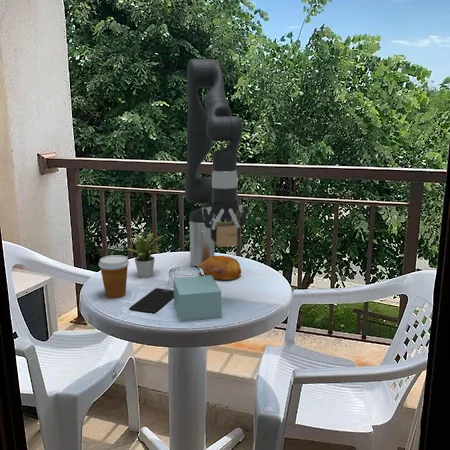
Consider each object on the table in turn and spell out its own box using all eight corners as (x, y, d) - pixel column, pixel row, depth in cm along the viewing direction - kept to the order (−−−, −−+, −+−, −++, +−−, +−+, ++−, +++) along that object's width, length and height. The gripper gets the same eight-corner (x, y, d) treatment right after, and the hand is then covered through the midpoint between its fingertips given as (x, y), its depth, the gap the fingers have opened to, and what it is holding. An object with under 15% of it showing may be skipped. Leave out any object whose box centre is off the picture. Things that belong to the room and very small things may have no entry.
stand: (173, 302, 158) (173, 278, 156) (211, 299, 160) (211, 275, 158) (180, 321, 145) (179, 295, 143) (221, 317, 147) (221, 291, 145)
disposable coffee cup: (101, 301, 159) (98, 265, 156) (100, 290, 168) (97, 256, 165) (132, 298, 161) (130, 262, 158) (129, 287, 170) (127, 253, 167)
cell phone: (180, 293, 166) (180, 291, 166) (154, 315, 150) (154, 312, 149) (156, 290, 169) (156, 287, 169) (128, 311, 153) (128, 308, 152)
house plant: (162, 283, 174) (161, 237, 170) (122, 283, 174) (120, 237, 170) (168, 269, 188) (167, 227, 184) (131, 269, 188) (128, 226, 184)
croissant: (228, 290, 174) (231, 269, 171) (191, 276, 181) (193, 255, 179) (249, 276, 186) (251, 256, 183) (213, 264, 193) (216, 244, 191)
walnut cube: (213, 241, 157) (213, 222, 155) (232, 240, 158) (232, 221, 157) (217, 247, 151) (217, 227, 149) (237, 245, 152) (237, 226, 151)
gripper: (244, 182, 155) (244, 235, 159) (198, 184, 152) (199, 238, 156) (251, 186, 148) (251, 241, 152) (203, 188, 145) (204, 245, 149)
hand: (224, 239), depth 154 cm, fingers closed on walnut cube, 6 cm apart
